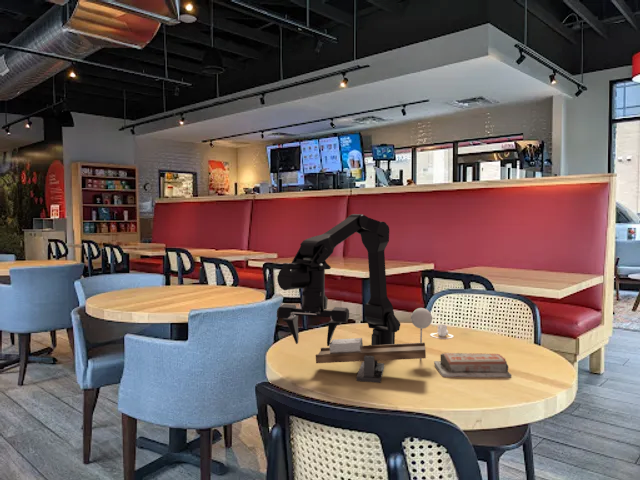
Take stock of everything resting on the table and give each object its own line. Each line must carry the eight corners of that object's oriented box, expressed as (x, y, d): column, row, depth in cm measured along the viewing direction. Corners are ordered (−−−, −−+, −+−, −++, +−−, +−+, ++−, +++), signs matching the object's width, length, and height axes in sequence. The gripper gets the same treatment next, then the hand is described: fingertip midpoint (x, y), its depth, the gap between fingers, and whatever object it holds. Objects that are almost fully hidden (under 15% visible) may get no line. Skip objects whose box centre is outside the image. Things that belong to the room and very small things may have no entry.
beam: (425, 351, 132) (424, 342, 132) (425, 359, 124) (424, 350, 124) (322, 356, 137) (321, 347, 137) (316, 364, 130) (315, 355, 130)
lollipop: (432, 358, 146) (433, 307, 145) (430, 363, 140) (431, 310, 139) (411, 355, 148) (412, 305, 147) (408, 361, 142) (409, 309, 141)
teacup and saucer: (439, 332, 179) (440, 321, 179) (459, 336, 173) (459, 325, 173) (425, 336, 173) (425, 324, 173) (445, 341, 167) (445, 329, 167)
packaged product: (498, 350, 139) (512, 360, 129) (497, 367, 139) (511, 379, 129) (433, 349, 139) (442, 360, 129) (433, 366, 139) (442, 378, 129)
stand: (384, 366, 137) (384, 345, 136) (380, 382, 124) (380, 358, 124) (362, 365, 138) (362, 343, 138) (356, 380, 125) (356, 357, 125)
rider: (363, 349, 133) (362, 337, 133) (360, 354, 128) (359, 342, 128) (333, 350, 135) (332, 339, 135) (330, 355, 130) (329, 344, 130)
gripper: (352, 284, 139) (351, 339, 140) (287, 281, 143) (287, 335, 143) (346, 290, 128) (345, 350, 129) (276, 286, 132) (275, 345, 133)
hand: (312, 344), depth 134 cm, fingers open, 8 cm apart
